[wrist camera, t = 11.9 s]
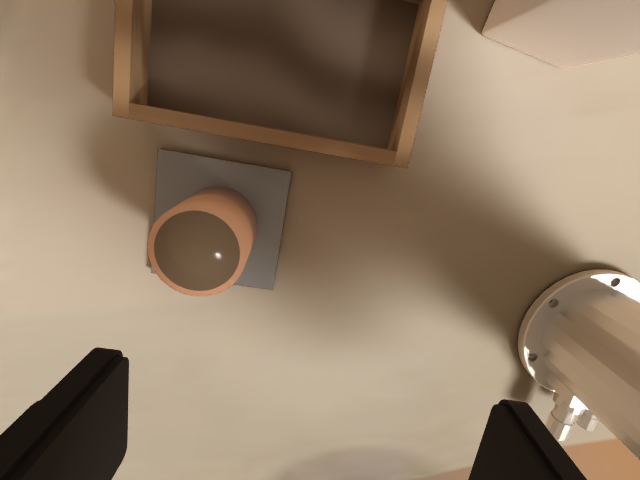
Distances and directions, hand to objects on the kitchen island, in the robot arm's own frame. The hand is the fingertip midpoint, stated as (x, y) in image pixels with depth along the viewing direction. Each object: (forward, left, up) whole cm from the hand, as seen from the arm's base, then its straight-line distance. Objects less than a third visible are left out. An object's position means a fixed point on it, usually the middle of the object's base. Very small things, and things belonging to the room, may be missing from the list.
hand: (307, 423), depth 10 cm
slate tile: (-2, +6, -22) cm, 23 cm away
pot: (-1, +6, -22) cm, 23 cm away
